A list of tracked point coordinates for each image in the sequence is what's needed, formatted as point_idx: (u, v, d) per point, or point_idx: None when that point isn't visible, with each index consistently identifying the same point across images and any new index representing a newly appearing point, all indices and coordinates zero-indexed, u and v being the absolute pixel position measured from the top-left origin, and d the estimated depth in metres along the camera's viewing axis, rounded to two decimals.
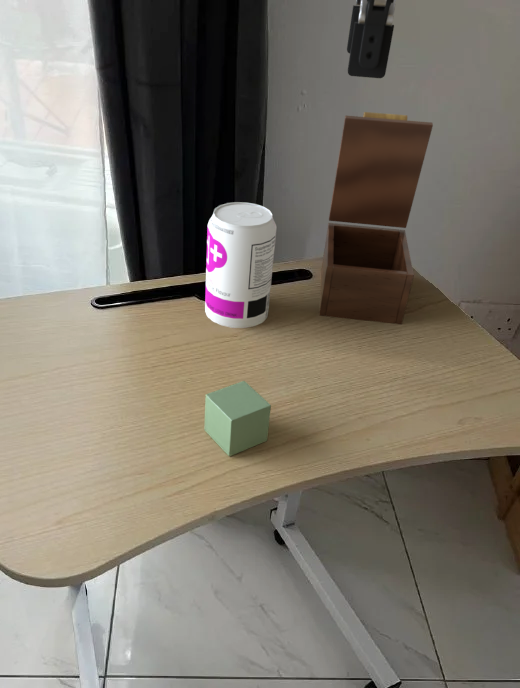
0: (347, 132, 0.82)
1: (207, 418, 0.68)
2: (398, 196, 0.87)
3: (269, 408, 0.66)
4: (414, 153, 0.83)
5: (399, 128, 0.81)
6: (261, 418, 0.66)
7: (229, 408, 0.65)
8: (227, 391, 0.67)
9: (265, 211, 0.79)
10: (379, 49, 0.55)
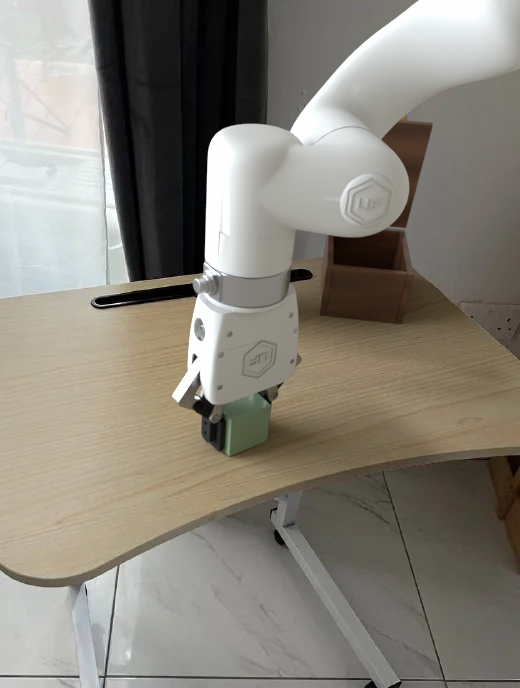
0: None
1: None
2: None
3: (269, 408, 0.66)
4: (414, 153, 0.83)
5: (399, 128, 0.81)
6: (261, 418, 0.66)
7: (229, 408, 0.65)
8: None
9: None
10: (209, 433, 0.65)
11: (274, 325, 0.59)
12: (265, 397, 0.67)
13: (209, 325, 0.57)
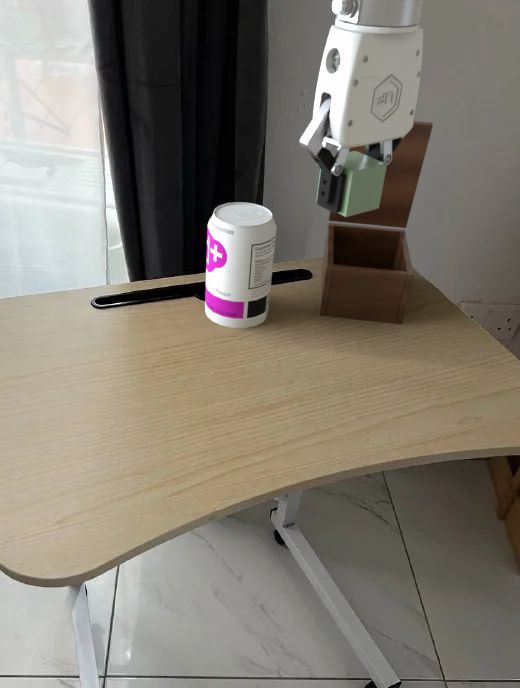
0: None
1: None
2: (398, 196, 0.87)
3: (385, 167, 0.68)
4: (414, 153, 0.83)
5: None
6: (377, 177, 0.68)
7: (348, 164, 0.67)
8: None
9: (265, 211, 0.79)
10: (328, 190, 0.67)
11: (403, 60, 0.61)
12: None
13: (346, 49, 0.58)
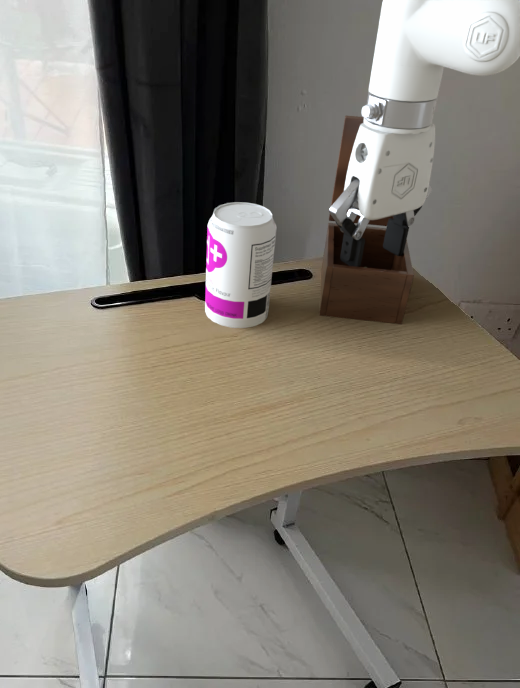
0: (347, 132, 0.82)
1: None
2: None
3: None
4: None
5: None
6: None
7: None
8: None
9: (265, 211, 0.79)
10: (350, 251, 0.81)
11: (418, 151, 0.75)
12: (404, 222, 0.83)
13: (372, 145, 0.73)
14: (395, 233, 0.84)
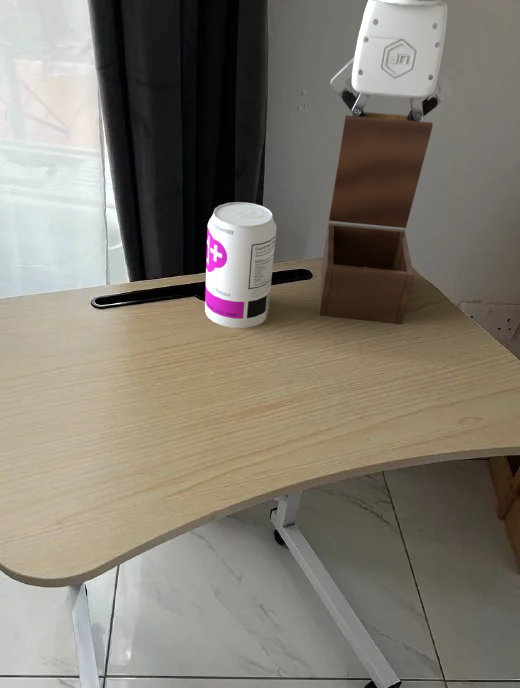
0: (347, 132, 0.82)
1: None
2: (398, 196, 0.87)
3: None
4: (414, 153, 0.83)
5: (399, 128, 0.81)
6: None
7: None
8: None
9: (265, 211, 0.79)
10: None
11: (416, 29, 0.76)
12: (412, 117, 0.83)
13: (365, 13, 0.77)
14: None
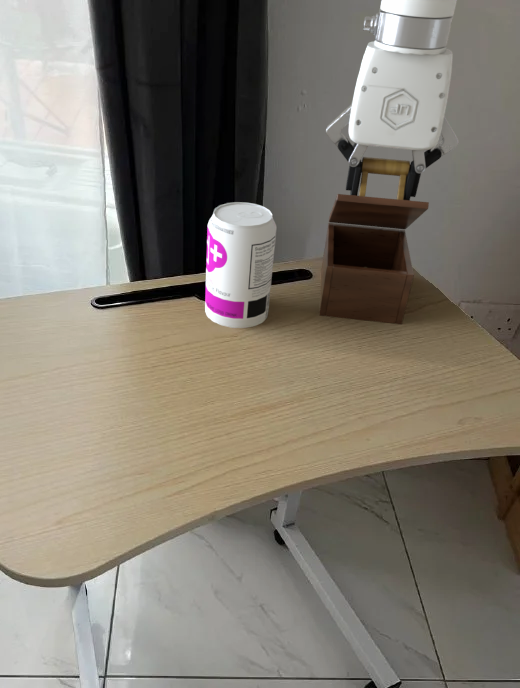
0: (340, 204, 0.79)
1: None
2: (396, 222, 0.86)
3: None
4: (410, 214, 0.80)
5: (393, 207, 0.77)
6: None
7: None
8: None
9: (265, 211, 0.79)
10: (347, 179, 0.79)
11: (419, 78, 0.70)
12: (413, 168, 0.77)
13: (363, 60, 0.71)
14: (406, 179, 0.79)
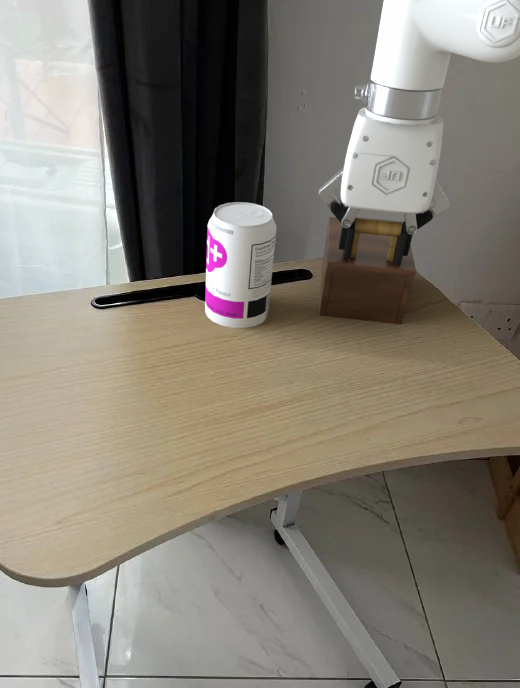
0: None
1: None
2: None
3: None
4: None
5: None
6: None
7: None
8: None
9: (265, 211, 0.79)
10: (340, 239, 0.80)
11: (410, 147, 0.70)
12: (405, 229, 0.78)
13: (354, 128, 0.71)
14: (398, 239, 0.79)
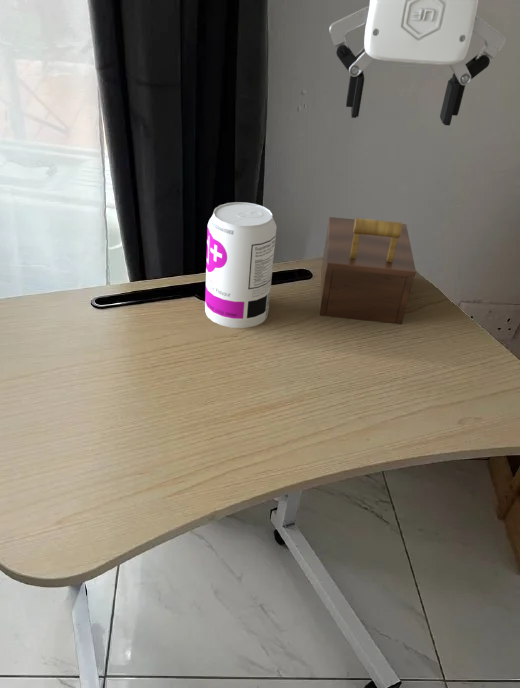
0: None
1: None
2: None
3: None
4: None
5: None
6: None
7: None
8: None
9: (265, 211, 0.79)
10: (348, 92, 0.70)
11: None
12: (457, 80, 0.67)
13: None
14: (447, 94, 0.69)
